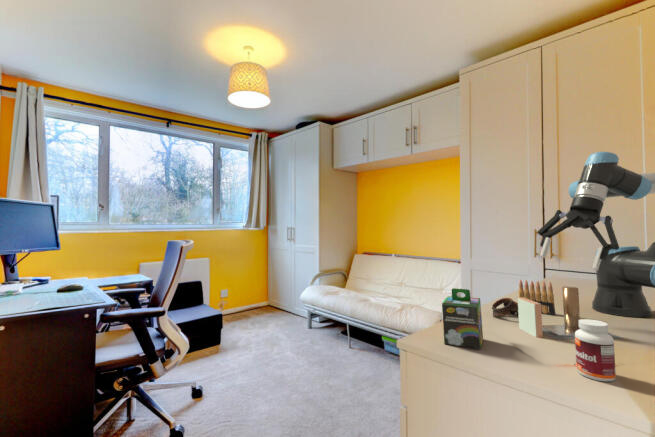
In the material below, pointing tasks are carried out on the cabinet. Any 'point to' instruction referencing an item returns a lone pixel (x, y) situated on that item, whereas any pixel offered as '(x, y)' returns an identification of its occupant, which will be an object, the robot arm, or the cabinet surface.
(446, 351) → the cabinet surface
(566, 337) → the mat
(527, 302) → the tile
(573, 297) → the turner
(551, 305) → the ammunition clip
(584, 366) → the pill bottle
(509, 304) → the brown sandal
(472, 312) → the chalk box
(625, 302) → the robot arm
